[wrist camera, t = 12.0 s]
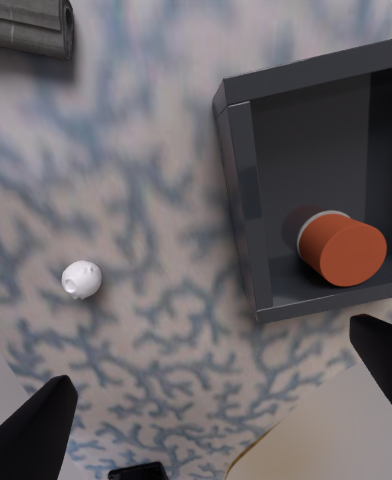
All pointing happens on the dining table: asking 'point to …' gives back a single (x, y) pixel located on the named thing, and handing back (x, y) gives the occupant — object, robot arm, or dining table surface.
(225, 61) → the dining table surface
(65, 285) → the white bumpy ball
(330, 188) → the dark grey open box
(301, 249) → the stopper
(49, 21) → the pistol
